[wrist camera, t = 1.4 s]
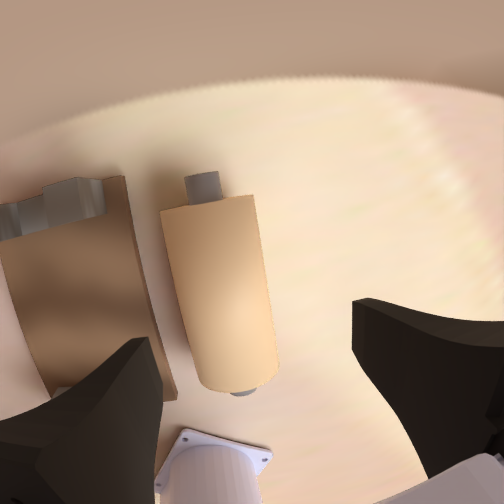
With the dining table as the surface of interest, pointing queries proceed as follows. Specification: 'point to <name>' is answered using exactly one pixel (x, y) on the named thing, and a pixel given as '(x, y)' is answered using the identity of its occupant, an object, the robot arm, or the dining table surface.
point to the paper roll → (222, 286)
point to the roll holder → (78, 279)
